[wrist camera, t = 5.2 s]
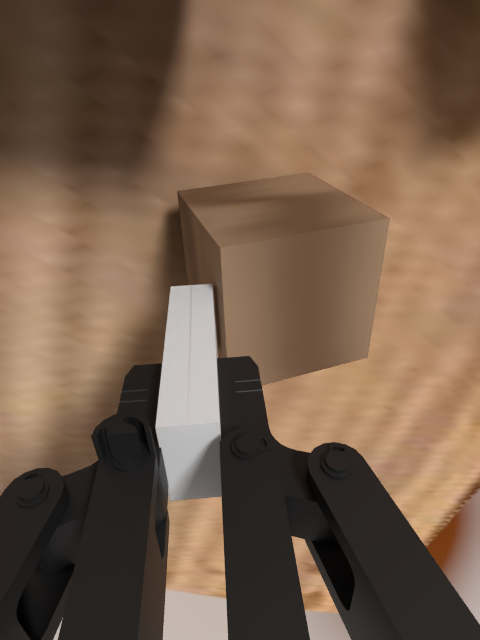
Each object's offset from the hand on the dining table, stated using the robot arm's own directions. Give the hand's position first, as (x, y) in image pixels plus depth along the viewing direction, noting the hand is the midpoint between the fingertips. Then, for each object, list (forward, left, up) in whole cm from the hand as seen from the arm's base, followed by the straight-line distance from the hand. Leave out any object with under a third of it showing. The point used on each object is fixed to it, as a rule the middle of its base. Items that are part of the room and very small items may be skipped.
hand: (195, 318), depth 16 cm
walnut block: (+2, 0, -6) cm, 6 cm away
